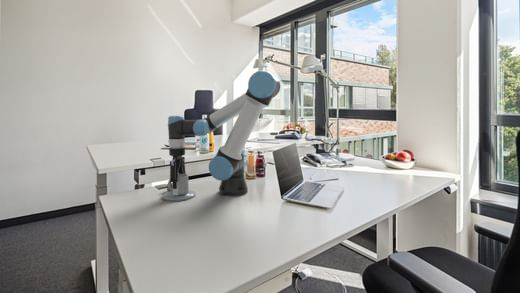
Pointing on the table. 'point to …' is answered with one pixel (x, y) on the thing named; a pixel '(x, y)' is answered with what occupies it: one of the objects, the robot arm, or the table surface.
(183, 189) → the cup
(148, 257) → the table surface
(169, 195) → the dish
